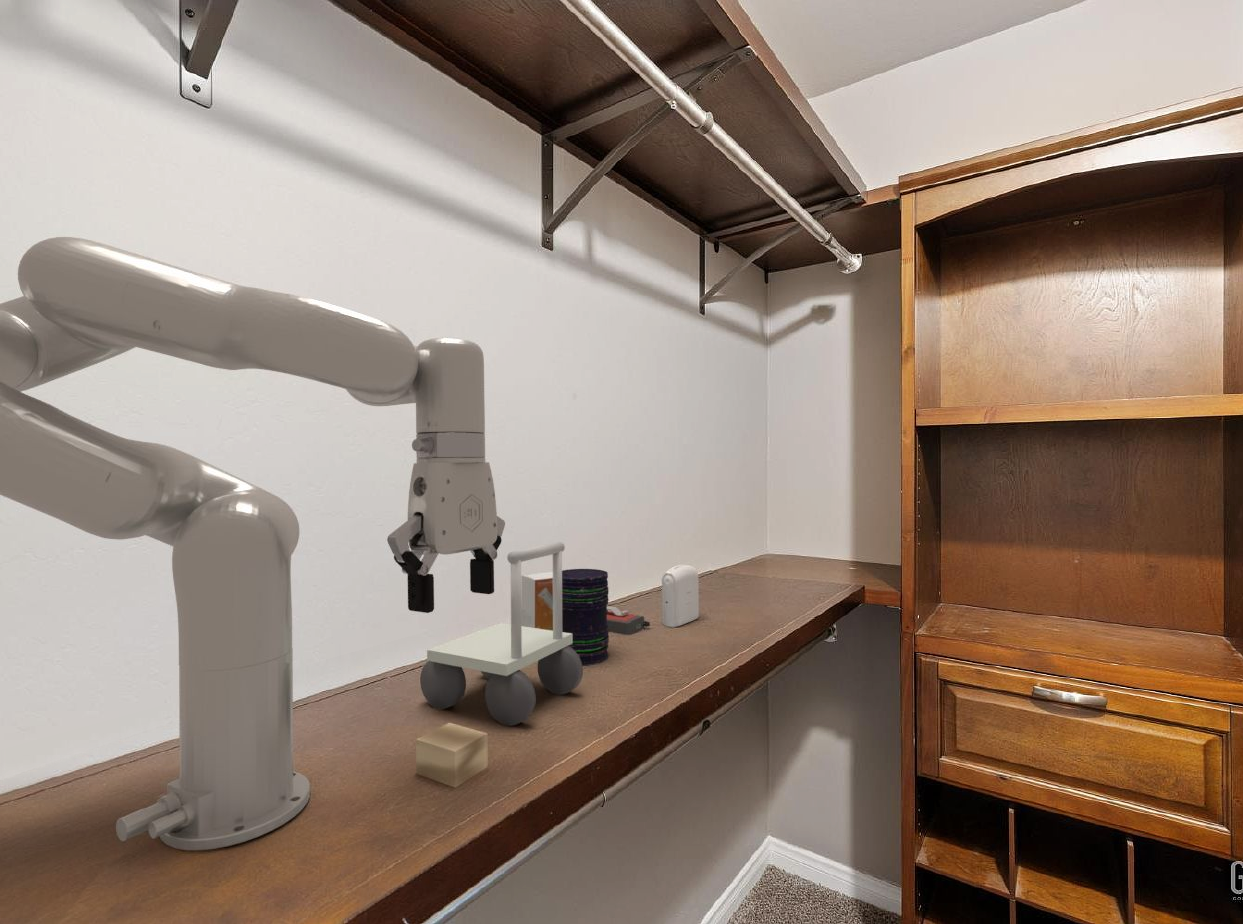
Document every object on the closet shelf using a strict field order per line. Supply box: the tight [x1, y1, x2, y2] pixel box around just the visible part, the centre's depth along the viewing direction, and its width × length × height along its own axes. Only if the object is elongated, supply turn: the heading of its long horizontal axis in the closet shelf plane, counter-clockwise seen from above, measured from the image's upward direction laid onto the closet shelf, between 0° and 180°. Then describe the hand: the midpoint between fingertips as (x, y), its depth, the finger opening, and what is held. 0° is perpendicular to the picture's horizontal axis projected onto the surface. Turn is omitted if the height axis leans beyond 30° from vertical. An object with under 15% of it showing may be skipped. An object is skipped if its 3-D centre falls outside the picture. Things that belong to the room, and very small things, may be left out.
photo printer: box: [661, 564, 700, 628], centre depth 132 cm, size 10×4×12 cm, turn 141°
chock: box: [415, 722, 489, 789], centre depth 68 cm, size 5×6×4 cm
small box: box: [521, 571, 553, 631], centre depth 118 cm, size 8×6×13 cm
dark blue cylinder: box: [562, 568, 610, 667], centre depth 108 cm, size 10×10×15 cm
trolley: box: [419, 541, 584, 727], centre depth 89 cm, size 16×19×23 cm
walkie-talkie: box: [607, 605, 651, 636], centre depth 130 cm, size 9×4×20 cm
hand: (453, 601), depth 68 cm, fingers open, 9 cm apart
